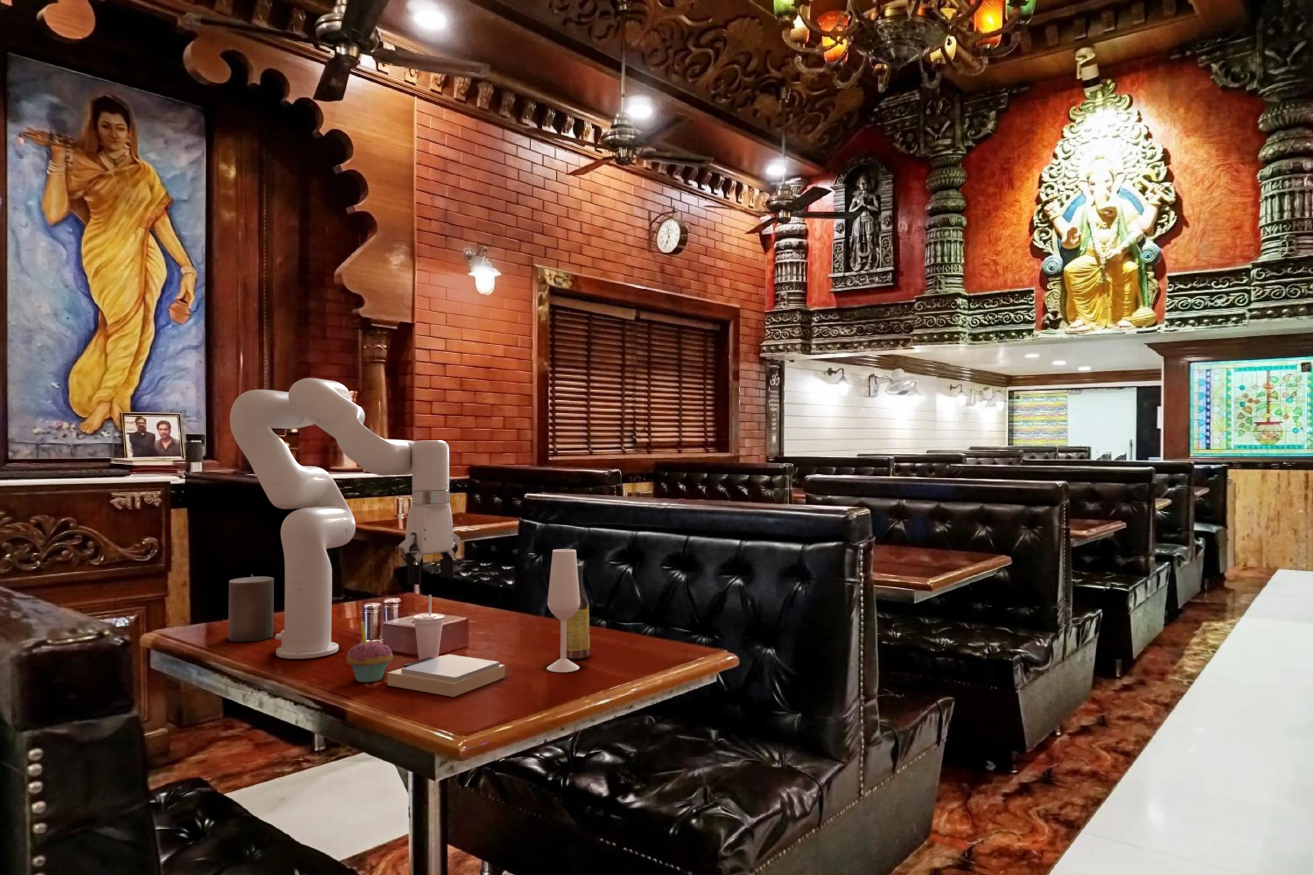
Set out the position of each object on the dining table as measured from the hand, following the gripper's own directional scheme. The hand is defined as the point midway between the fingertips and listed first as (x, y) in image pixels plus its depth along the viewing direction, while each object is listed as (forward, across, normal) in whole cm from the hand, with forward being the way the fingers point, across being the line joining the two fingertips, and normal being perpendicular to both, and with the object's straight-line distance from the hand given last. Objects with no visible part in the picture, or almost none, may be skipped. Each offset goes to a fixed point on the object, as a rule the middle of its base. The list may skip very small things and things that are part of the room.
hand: (430, 580), depth 174 cm
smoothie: (+17, 0, -1) cm, 17 cm away
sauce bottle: (+18, -19, +23) cm, 35 cm away
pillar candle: (+16, +2, -54) cm, 56 cm away
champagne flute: (+18, -10, +26) cm, 33 cm away
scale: (+17, +9, +12) cm, 23 cm away
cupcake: (+17, +15, -2) cm, 23 cm away
